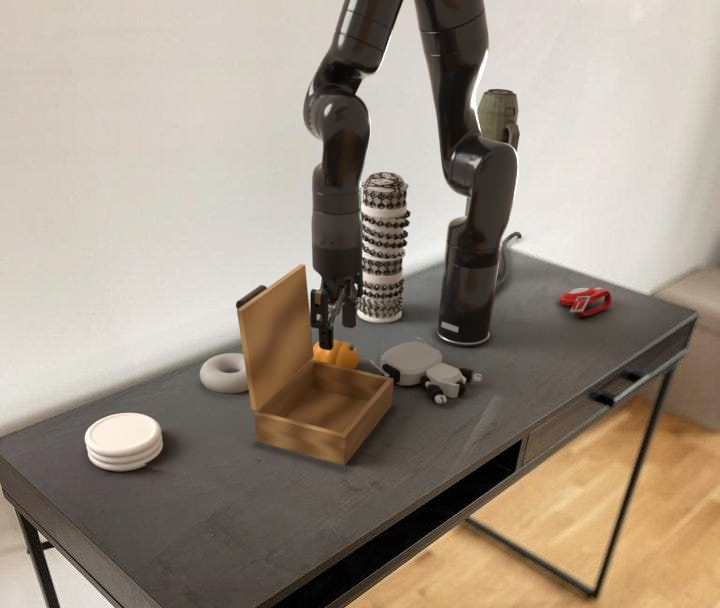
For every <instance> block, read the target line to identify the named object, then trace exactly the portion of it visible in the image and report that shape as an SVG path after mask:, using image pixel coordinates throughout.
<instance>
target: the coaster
mask: <svg viewBox="0 0 720 608" xmlns="http://www.w3.org/2000/svg"><path fill="white" fill-rule="evenodd" d="M84 443H85V445H86V446H85V447H86V451H87V457H88V458H89V461H90V462H92V464H93V465H94V466H96V467H98V468H99V469H101V470H106V471H109V472H110V471H111V472H129V471H134V470H135V471H136V470H138V469H141V468H144V467H145V466H148V465H149V464H148V462H150V461H152V460H153V459H155V458H156V457H157V456H159V454H160V453H161V451H162V450H163V447H164V442H163V435H162V428H161V426H160V424H159V422H158V421H156V419H154V418H152V417H150V416H149V415H146V414H143V413H137V412H121V413H114V414H110V415H108V416H105V417H103V418H100V419H98V420H97V421H95V422H94V423H93V424H91V425H90V426H89V427H88V428H87V429H86V431H85V434H84Z"/></svg>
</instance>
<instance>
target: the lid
mask: <svg viewBox="0 0 720 608" xmlns="http://www.w3.org/2000/svg"><path fill="white" fill-rule="evenodd" d="M307 279H308V278H307V269H306V264H302V263H300V264H299V265H297V266H296V267H295V268H293V269H291V270H290V271H288V273H286V274H285V275H284V276H282V277H281V278H279V279H278V280H276V281H275V282H274V283H272V284H271V285H269V286H268V287H267V286H266V285H265V284H264V285H263V284H261V285H258V286H257V287H256V288H254V289H252V290H251V291H250V292H248V293H247V294H246V295H244V296H242V297H241V298H239V299H238V300H236V302H235V308H236V315H237V320H238V328H239V335H240V340H241V346H242V347H241V348H242V354H243V355H244V361H245V368H246V375H247V381H248V388H249V391H248V394H249V401H250V407H251V410H252V411H256V412H257V411H258V410H259V409H260V408H261V407H262V406H263V405H264V404H265V403H266V402H267V401H268V400H269V399H270V398H271V397H272V396H273V395H274V394H276V393H277V392H278V391H279V390H280V389H281V388H282V387H283V386H284V385H285V384H286V383H287V382H288V381H289V380H290V379H291V378H292V377H294V376H295V375H296V374H297V373H298V372H299V371H300V370H301V369H302V368H303V367H304V366H305V365H306V364H307V363H308V362H310V361H311V360H312V358H313V357H314V354H313V347H314V344H313V343H314V342H313V333H312V327H311V322H310V299H309V292H308V291H309V290H308V282H307V281H308V280H307Z"/></svg>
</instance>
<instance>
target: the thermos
mask: <svg viewBox="0 0 720 608" xmlns="http://www.w3.org/2000/svg"><path fill="white" fill-rule="evenodd" d="M519 112H520V111H519V102H518V97H517V94H516V93H514V91H512V90H510V89H503V88H490V89H488V90H487V91H484V92H483V94H482V96H481V97H480V100H479V104H478V106H477V116H478V122H479V126H480V130H481V132H482V135H483V136H484V137H488V138H491V139H494V140H498V141H501V142H504V143H506V144H509V145H510V146H512V147H513V148H514V149H515V151H516V153H517V152H518V146H519V143H520V142H519V141H520V135H521V133H520V128H519V124H518V117H519ZM517 154H518V153H517ZM470 200H471V199H470V198H467V197H466V203H465V211H464V216H467V215H468V211H469V205H470ZM502 247H503V244H501V251H500V258H499V266H498V268H499V267H500V265H501V260H502ZM498 274H499V272H498V273H497V276H498Z"/></svg>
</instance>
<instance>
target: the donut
mask: <svg viewBox="0 0 720 608" xmlns="http://www.w3.org/2000/svg"><path fill="white" fill-rule="evenodd" d="M199 378H200V382H201V383H202V385H203V386H204V387H205V388H206V389H207V390H209V391H211V392H214V393H220V394H228V395H229V394H230V395H231V394H232V395H233V394H240V393H241V394H242V393H244V392H249V388H248V381H247V375H246V368H245V361H244V355H243V353H239V352H238V353H237V352H230V353H221V354H217V355H214V356H212V357H210V358H208V359H207V360H206V361H205V362H204V363H202V365H201V368H200V370H199Z"/></svg>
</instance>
